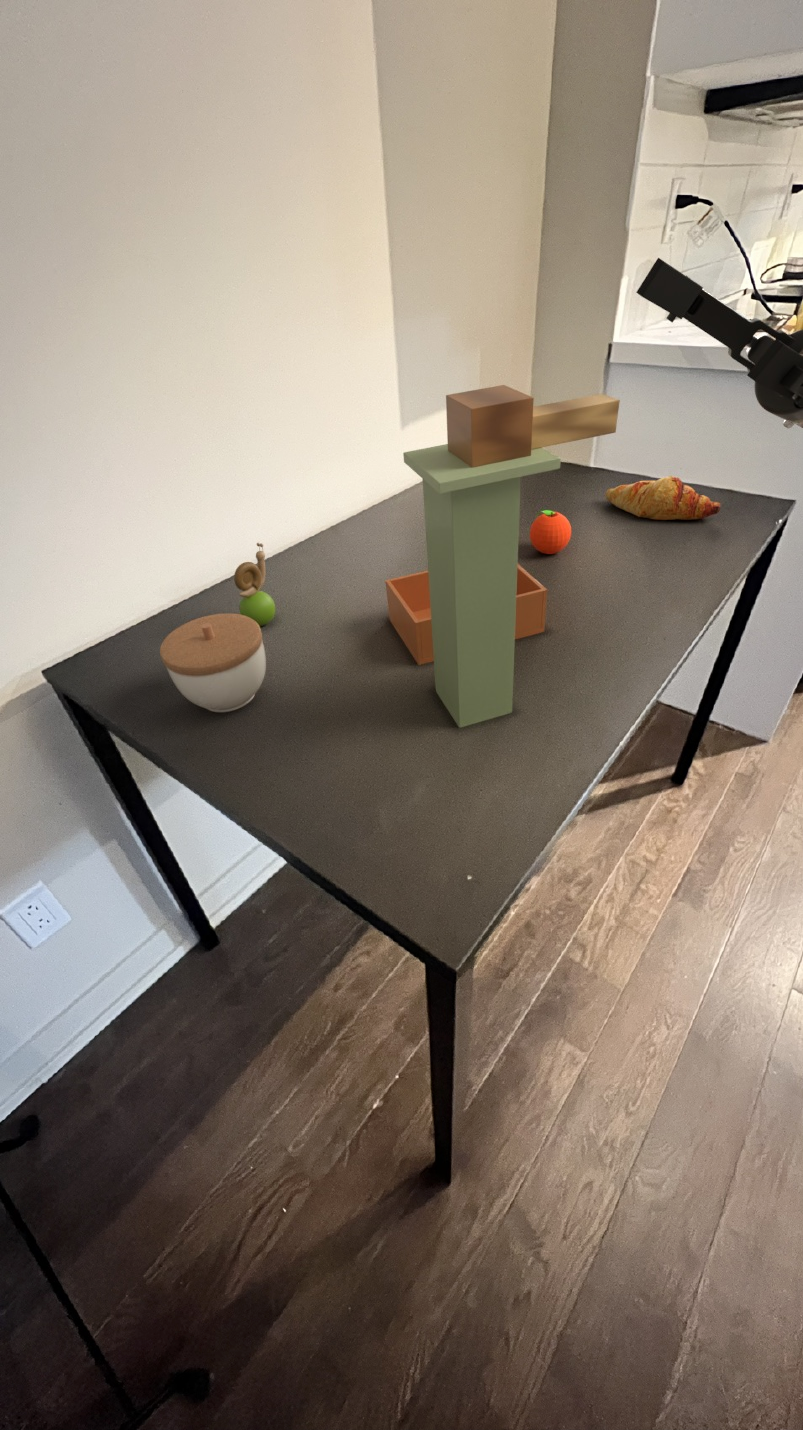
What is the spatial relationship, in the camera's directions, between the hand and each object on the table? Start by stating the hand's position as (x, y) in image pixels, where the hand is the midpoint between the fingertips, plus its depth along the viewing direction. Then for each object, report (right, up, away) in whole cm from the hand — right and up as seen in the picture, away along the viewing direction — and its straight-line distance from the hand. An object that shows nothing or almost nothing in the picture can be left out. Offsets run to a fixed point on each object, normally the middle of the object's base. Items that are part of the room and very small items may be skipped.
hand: (703, 315), depth 49 cm
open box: (-14, -18, +44) cm, 49 cm away
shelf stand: (-13, -29, +30) cm, 44 cm away
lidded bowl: (-47, -29, +35) cm, 65 cm away
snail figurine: (-45, -17, +50) cm, 69 cm away
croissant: (+25, +7, +69) cm, 74 cm away
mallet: (-11, -5, +12) cm, 17 cm away
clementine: (+2, -3, +60) cm, 60 cm away
